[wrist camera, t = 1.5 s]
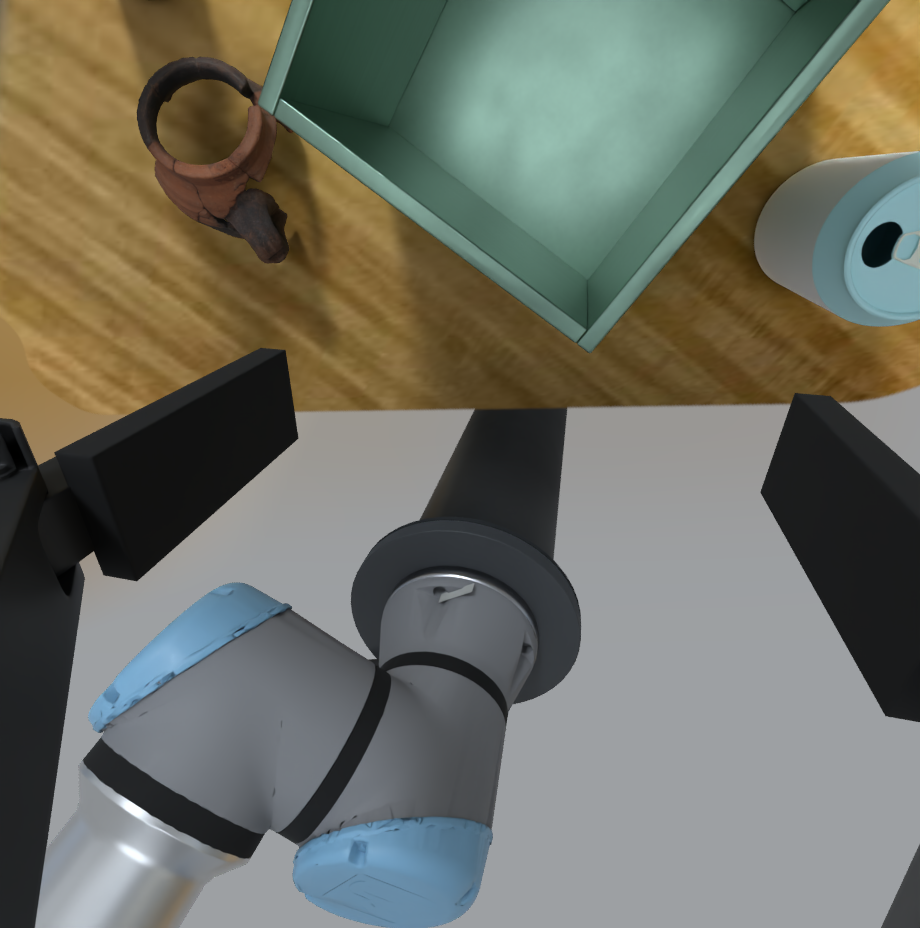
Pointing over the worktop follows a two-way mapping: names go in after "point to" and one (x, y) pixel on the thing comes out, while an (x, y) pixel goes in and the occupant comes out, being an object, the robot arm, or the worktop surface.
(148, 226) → the worktop surface
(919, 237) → the can
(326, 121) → the green open box
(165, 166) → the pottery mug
